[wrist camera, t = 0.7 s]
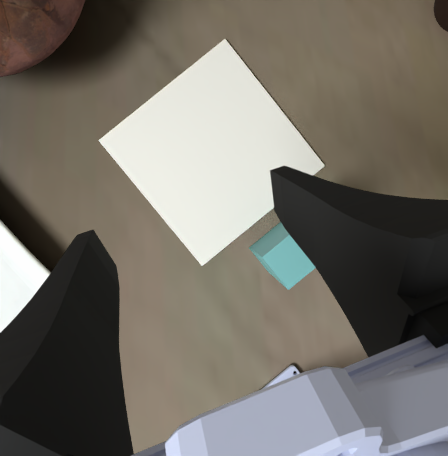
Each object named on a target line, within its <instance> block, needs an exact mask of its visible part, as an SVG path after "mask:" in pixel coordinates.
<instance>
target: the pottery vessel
mask: <svg viewBox="0 0 448 456" xmlns="http://www.w3.org/2000/svg"><path fill="white" fill-rule="evenodd" d="M84 2H85V0H0V77H3V76H8V75H13V74H17V73H20V72H22V71H25V70H27V69H29V68H31V67H33V66H35V65H36V64H38V63H40V62H41V61H43V60H44V59H46V58H47V57H48V56H50V55H51V54H52V53H53V52H54V51H55V50H56V49H57V48H58V47H59V46H60V45H61V44H62V43H63V42H64V40H65V39H66V38H67V37H68V36H69V34H70V33H71V31H72V30H73V28H74V26H75V24H76V22H77V20H78V18H79V16H80V13H81V11H82V8H83V5H84Z"/></svg>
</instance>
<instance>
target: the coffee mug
mask: <svg viewBox="0 0 448 456" xmlns="http://www.w3.org/2000/svg"><path fill="white" fill-rule="evenodd" d="M434 14H435V18H436V20H437V22H438V24H439V25H440V26H441V27H442V28H443V29H444V30H446V31H447V32H448V0H435V3H434Z"/></svg>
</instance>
